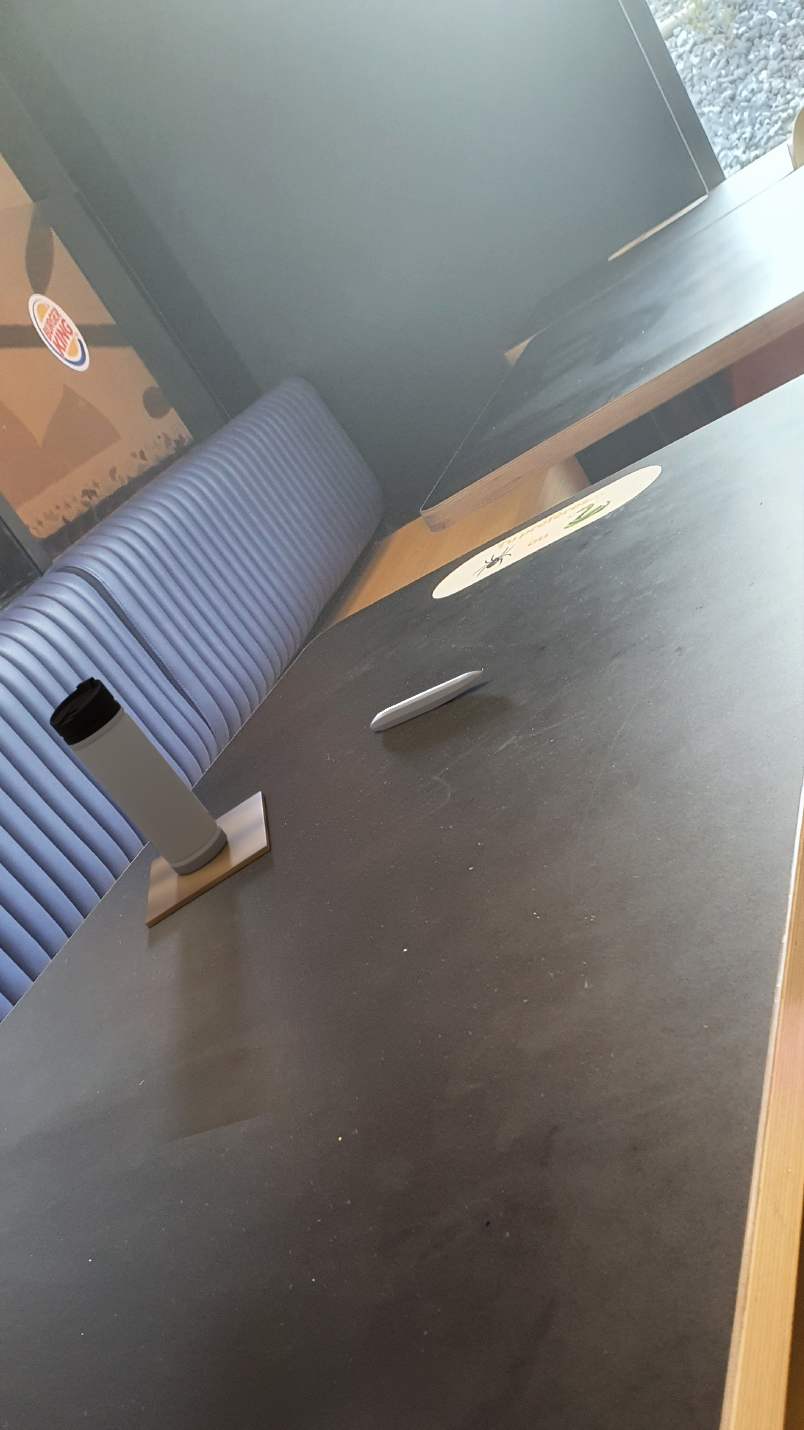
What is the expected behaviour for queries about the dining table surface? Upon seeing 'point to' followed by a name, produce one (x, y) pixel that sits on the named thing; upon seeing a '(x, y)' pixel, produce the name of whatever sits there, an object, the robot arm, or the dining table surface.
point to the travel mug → (137, 777)
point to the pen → (424, 701)
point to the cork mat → (239, 850)
